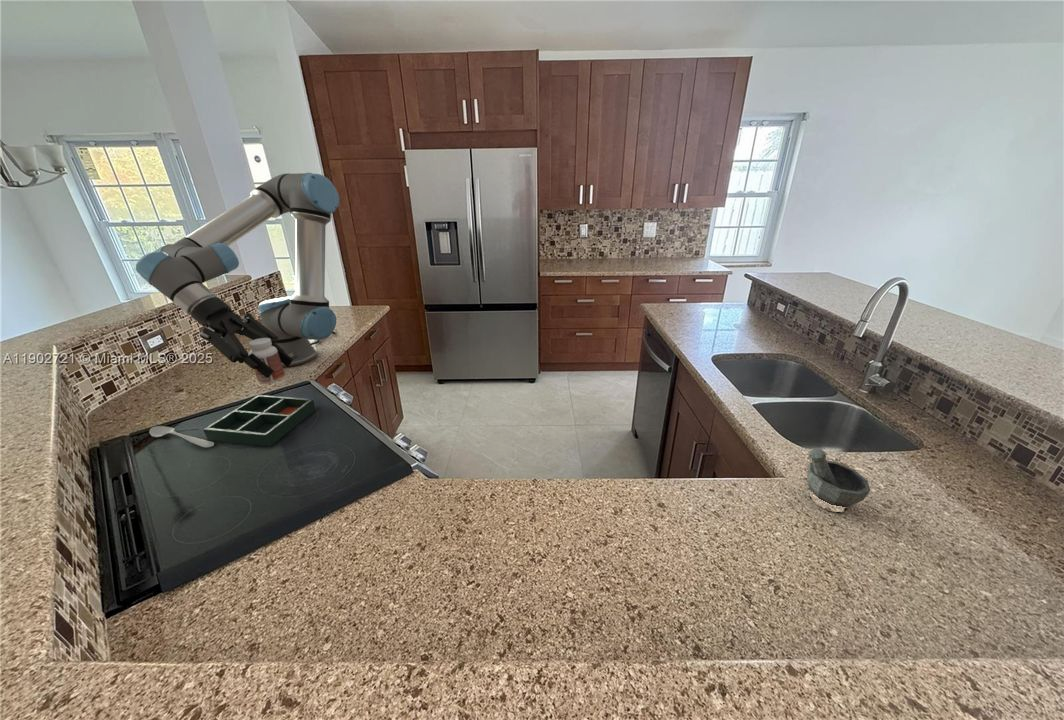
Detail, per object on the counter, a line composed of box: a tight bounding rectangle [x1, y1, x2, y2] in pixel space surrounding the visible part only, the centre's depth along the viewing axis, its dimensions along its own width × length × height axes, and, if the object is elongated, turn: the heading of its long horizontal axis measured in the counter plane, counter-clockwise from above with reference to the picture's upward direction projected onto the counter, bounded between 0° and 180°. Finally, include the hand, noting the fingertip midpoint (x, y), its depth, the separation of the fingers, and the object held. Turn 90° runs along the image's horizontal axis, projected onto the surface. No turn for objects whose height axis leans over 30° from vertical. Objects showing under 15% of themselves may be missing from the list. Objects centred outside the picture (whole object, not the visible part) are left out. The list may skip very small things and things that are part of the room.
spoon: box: [148, 425, 215, 449], centre depth 94 cm, size 4×21×2 cm, turn 74°
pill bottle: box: [248, 338, 286, 385], centre depth 97 cm, size 6×6×11 cm
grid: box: [202, 394, 317, 448], centre depth 100 cm, size 17×17×4 cm
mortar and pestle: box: [806, 448, 871, 508], centre depth 74 cm, size 11×9×12 cm
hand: (280, 368), depth 98 cm, fingers closed on pill bottle, 6 cm apart
